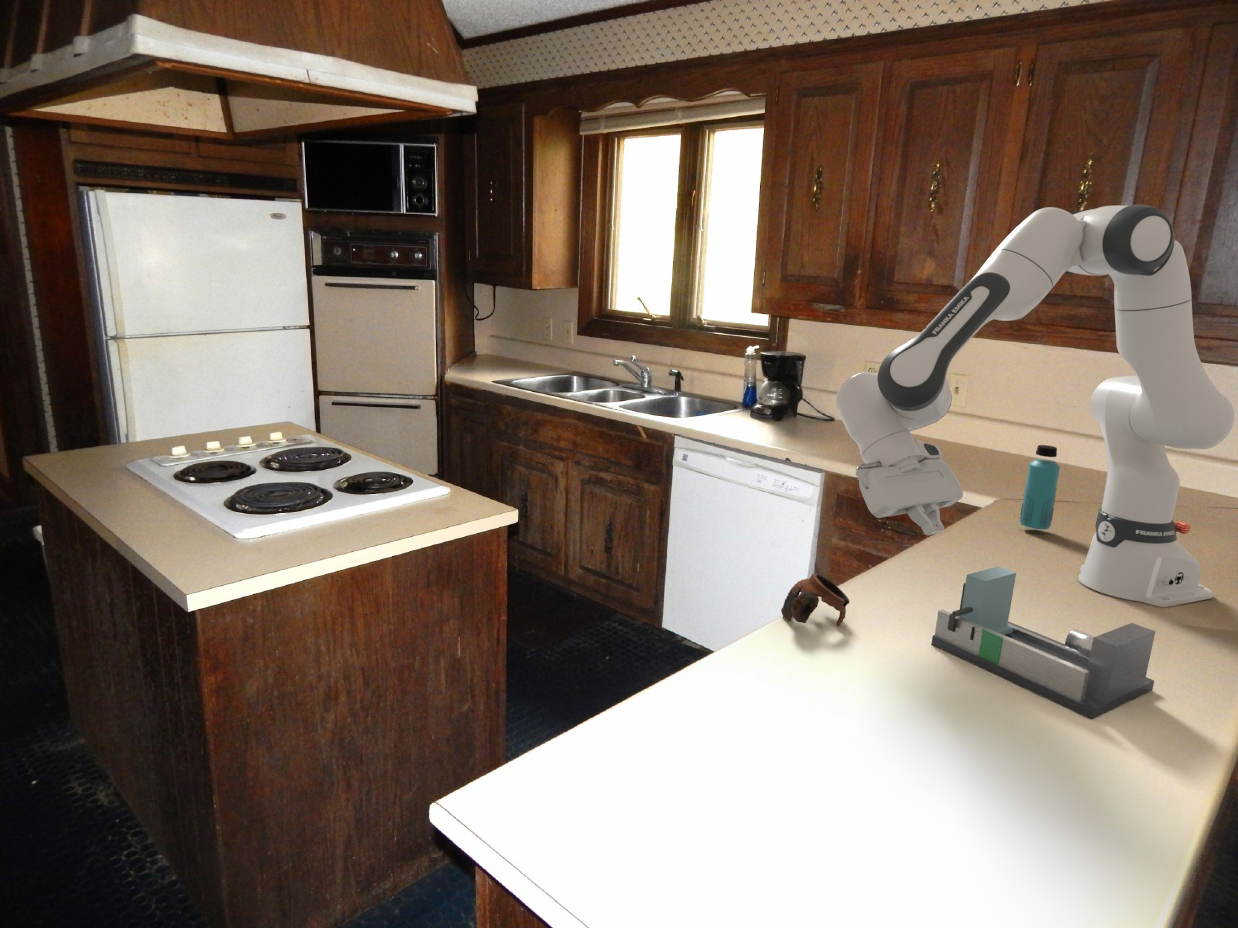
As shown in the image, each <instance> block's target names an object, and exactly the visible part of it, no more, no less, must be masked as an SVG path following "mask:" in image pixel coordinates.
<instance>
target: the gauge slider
mask: <svg viewBox="0 0 1238 928" xmlns="http://www.w3.org/2000/svg"><path fill="white" fill-rule="evenodd" d="M1016 577H1017V572H1016V571H1012V570H1010V569H1008V568H1007V569H1006V568H1003V567H1001V566H995V567H991V568H987V569H983V570H979V571H976V572H971V573H968V574H966V577H965V582H964V583H963V587H962V592H961V599H960V605H959V609H957V610H953V611H952V612H951V613H952V614H950V616H949V622H948V630H950V631H952V630H954V623H955V617H957V616H960V617H962V618H964V619H967V620H969V621H972V622H974V623H976V624H979V625H981V626H983V627H986V628H988V629H990V630H993V631H995V632H998V633H1000V634H1002V635H1006V634H1009V633H1012V632H1013V627H1011V626H1009V625H1008V621H1009V617H1010V611H1011V607H1012V602H1013V601H1012V600H1013V595H1014V594H1013V593H1014V590H1015V589H1014V588H1015V584H1016Z"/></svg>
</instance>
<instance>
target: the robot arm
mask: <svg viewBox="0 0 1238 928" xmlns="http://www.w3.org/2000/svg"><path fill="white" fill-rule="evenodd" d="M1174 231H1175V230H1174V227H1173V224H1172V221H1171V219H1170V218H1169V216H1168V215H1167V214H1166V213H1165V211H1164V210H1162V209H1161V208H1158V207H1156V206H1151V205H1149V204H1147V205H1146V204H1140V203H1139V204H1131V205H1123V204H1122V205H1120V204H1119V205H1104V206H1100V207H1097V208H1093V209H1088V210H1078V211H1073V212H1069V211H1067V210H1065V209H1062V208H1059V207H1054V206H1053V207H1052V206H1050V207H1049V206H1047V207H1043V208H1040V209H1037V210H1036V211H1034V212H1032V213H1031V214H1029V216H1027V217H1026V218H1025V219H1024V220H1022V221H1021V223H1019V225H1017V226H1016V227H1015V228H1014V229H1013V230H1012V231H1011V232H1010V233H1009V234H1008V235H1007V236H1006V237H1005V238H1004V239H1003V241H1001V243H1000V244H999V245H998V246H997V247H996V248H995V249H994V251H992V253H991V255H990V256H989V257H988V258H987V259H986V261H985V262H984V263H983V264H982V266H981V267H980V268H979V270H978V271H977V272H976V274H974V276H973V277H972V278H971V279H970V280H969V281H968V283H967V284H966V285H964V286H963V287H962V288H961V289H960V290H959V292H957V294H956V295H955V296H953V298H952V299H951V300H949V302H948V303H947V304H946V305H945V306H944V308H942V309H941V310H940V312H939V313H938V314H937V315H936V316H935V317H934V318H933V319H932V320H931V321H930V323H928V325H926V327H925V328H923V330H922V331H921V332H920V333H919V334H917V335H916V336H915V337H914V338H912V339H911V340H909V341H907V342H906V343H904V344H902V345H900V346H899V347H897V348H896V349H894V350H892V351H891V352H890V353H889V354H888V355H886V357H885V358H884V359H883V361H882V362H881V364H880V366H879V367H878V372H875V373H874V372H869V371H861V372H859V373H856V374H853V376H850V377H849V378H848V379H847V380H846V381H845V382H843V384H842V385H841V386H840V388H839V390H838V391H837V393H836V396H835V405H836V408H837V411H838V414H839V417H840V419H841V421H842V423H843V424H844V427H845V429H846V432H847V433H848V435H849V436H850V438H851V440H853V441H854V442H855V443H856V444H857V447H858V449H859V454H860V457H861V458H862V461H864V462H863V463H860V464H858V465H857V468H856V470H855V477H857V480H858V485H859V486H858V487H859V489H860V492H861V495H862V497H863V499H864V501H865V502H864V503H865V505H866V506H867V509H868V511H869V512H870V514H872V515H873V516H874V517H875V518H878V519H880V518H885V517H893V516H898V515H904V514H907V515H908V517H909V518H910V519H911V521H912V522H914V523H915V524H917V526H919V527H920V528H921V530H922V531H923V533H924V534H925V536H931V535H936V534H940V533H942V532H943V531H944V530H945V526H944V524H943V522H942V521H941V513H940V509H941V508H946V507H947V508H948V507H951V506H952V505H954V504H956V503H957V502H959V501H960V500H961V499H963V497H964V490H963V487H962V486H961V484H960V481H959V480H958V478H957V477H956V475H955V473H954V471H953V469H952V468H951V467H950V465H949V464H948V463H947V462H946V461H945V460H943V459H942V457H943V456H944V455H943V452H942V450H941V449H940V447H939V446H938V445H935V444H932V443H928V442H925V441H922V440H920V439H918V438H914V437H913V435H912V433H911V432H913V431H916V430H918V429H922V428H925V427H927V426H930V425H932V424H935V423H937V422H939V421H940V420H941V419H943V418H944V417H945V416H946V414H947V413H948V412H949V410H950V408H951V406H952V399H953V398H952V390H951V388H950V385H949V381H948V380H947V375H948V370H949V367H950V365H951V363H952V361H953V359H954V358H955V356H957V355H958V354H959V352H961V350H962V349H963V348H964V347H965V346H966V345H967V344H968V343H969V341H970V340H972V338H973V337H975V335H976V334H977V333H978V331H980V330H981V328H983V326H985V325H986V324H988V323H989V322H990V321H993V320H997V321H1001V322H1002V321H1005V322H1008V321H1011V322H1012V321H1016V320H1020V319H1023V318H1024V317H1025V316H1027V314H1029V313H1030V312H1031V311H1032V310H1034V308H1036V307H1037V306H1038V305H1039V304H1040V303H1041V302H1042V300H1044V299H1045V297H1046V296H1047V295H1048V294H1049V293H1050V292H1051V290H1052V289H1053V288H1054V287H1055V285H1056V284H1057V282H1059V280H1060V279H1061V278H1062V276H1063V275H1064V274H1068V275H1085V276H1095V277H1096V276H1097V277H1099V276H1107V275H1109V277H1110V278H1111V280H1112V282H1113V284H1114V294H1113V295H1114V296H1113V298H1114V299H1113V300H1114V301H1113V302H1114V303H1113V304H1114V318H1115V322H1114V323H1115V337H1116V338H1115V340H1116V341H1115V342H1116V349H1117V351H1118V354H1119V355H1120V356H1121V358H1122V359H1123V360H1124V361H1125V362H1126V363H1127V364H1128V365H1129V366H1130V367H1131V369H1132V371H1133V372H1134V375H1124V376H1114V377H1110V378H1107V379H1105V380H1104V381H1102V382H1101V383H1099V384H1098V385H1097V387H1096V388H1095V389H1094V391H1093V393H1092V395H1091V398H1090V403H1089V407H1090V413H1091V416H1092V418H1093V419H1094V421H1095V422H1096V423H1097V425H1098V427H1099V428H1100V430H1101V434H1102V436H1103V437H1102V438H1103V441H1104V445H1105V450H1106V451H1105V452H1106V458H1107V459H1106V460H1107V473H1106V479H1105V487H1104V494H1103V499H1102V505H1101V507H1100V508H1099V509H1098V511H1097V514H1096V517H1095V518H1096V520H1095V526H1094V527H1095V531H1096V532H1095V533H1094V534H1093V537H1092V539H1091V543H1090V545H1089V548H1088V550H1087V551H1088V552H1087V554H1086V558H1085V561H1084V563H1083V564H1081V565H1080V568H1079V569H1080V573H1079V574H1078V576H1077V580H1078V581H1079V582H1080V583H1081V584H1082V585H1084V586H1086V587H1087V588H1090V589H1091V590H1093V591H1097V592H1099V593H1102V594H1105V595H1108V596H1112V597H1116V598H1119V599H1124V600H1127V601H1129V600H1131V601H1134V602H1140V603H1145V604H1147V605H1152V606H1156V607H1161V608H1167V607H1171V606H1172V607H1173V606H1178V605H1183V604H1189V603H1194V602H1199V601H1204V600H1209V599H1213V596H1214V593H1213V592H1212V590H1210V589H1209V588H1208V587H1206V586H1204V585H1202V584H1201V583H1200V581H1201V579H1200V578H1201V565H1200V563H1199V561H1198V560H1197V559H1196V558H1195V557H1194V556H1193V555H1192V554H1191V553H1190V552H1189V551H1188V550H1187V549H1186V548H1185V547H1183V546H1182V544H1180V542H1179V541H1177V533H1180V534H1182V535H1187V534H1189V532H1191V529H1192V528H1191V525H1190V524H1189V523H1187V522H1183V521H1180V520H1178V521H1176V522H1175V521H1174V520H1173V516H1174V512H1175V509H1176V508H1175V507H1176V504H1177V499H1178V495H1179V489H1180V485H1181V482H1180V477H1179V474H1178V473H1177V471H1176V470H1175V469H1174V467H1173V466H1172V465H1171V463H1170V461H1169V459H1168V455H1167V453H1166V446H1167V447H1171V448H1175V449H1179V450H1180V449H1181V450H1208V449H1211V448H1214V447H1216V446H1218V445H1219V444H1221V443H1222V442H1223V441H1224V440H1225V439H1226V438H1227V437H1228V435H1229V434H1230V432H1231V430H1232V428H1233V425H1234V421H1235V410H1234V407H1233V404H1232V402H1231V401H1230V400H1229V399H1228V398H1227V397H1226V396H1225V395H1224V394H1223V393H1221V392H1220V391H1219V390H1218V389H1217V386H1215V385H1214V384H1213V381H1211V379H1210V377H1209V376H1208V374H1207V372H1206V369H1205V368H1204V366H1203V363H1202V361H1201V358H1200V357H1199V353H1198V351H1197V345H1196V343H1195V335H1194V322H1193V303H1192V301H1193V300H1192V286H1191V277H1190V272H1189V267H1188V262H1187V257H1186V254H1185V252H1184V247H1183V246H1182V245H1181V243H1180V242H1179V241H1177V240H1176V239H1175V232H1174Z"/></svg>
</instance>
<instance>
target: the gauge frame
mask: <svg viewBox="0 0 1238 928" xmlns="http://www.w3.org/2000/svg"><path fill="white" fill-rule="evenodd" d="M950 614H952V612H950V611H947V610H945V609H938V611H937V617H936V625H935V631H934V634H933V635H932V637H931V646H933V647H935V648H938V649H940V650H942V651H944V652H946V653H948V654H951V655H953V656H955V657H957V658H959V659H961V660H963V661H966V662H967V663H969V664H972V665H973V666H975V667H978V668H980V669H982V670H985V671H987V672H989V673H990V674H993V675H994V676H997V677H999V678H1001V679H1003V680H1006V681H1008V682H1010V683H1012V684H1013V685H1016V686H1019V687H1021V688H1023V689H1024V690H1027V691H1029V692H1031V693H1033V694H1035V695H1037V696H1039V697H1042V698H1045V699H1046V700H1049V701H1050V702H1053V703H1055V704H1057V705H1059V706H1061V707H1063V708H1066V709H1068V710H1070V711H1072V712H1074V713H1076V714H1079V716H1080V715H1081V716H1082V717H1085V718H1086V719H1089V720H1091V721H1092V720H1094V719H1096V718H1098V717H1100V716H1102V715H1105V714H1106V713H1109V712H1110V711H1113V710H1115V709H1117V708H1120V707H1121V706H1123V705H1126V704H1127V703H1129V702H1131V701H1134V700H1135V699H1137V698H1140V697H1142V696H1144V695H1145V694H1148V693H1150V692H1152V691H1153V689H1154V684H1155V680H1154V679H1152V678H1150V677H1147V673H1148V669H1149V662H1150V659H1151V654H1152V651H1153V645H1154V641H1155V635H1156V631H1155V630H1154V629H1150V628H1147V627H1145V626H1141V625H1139V624H1136V623H1135V622H1134V623H1133V622H1131V623H1128V624H1126V625H1123V626H1120V627H1118V628H1115V629H1112V630H1110V631H1107V632H1104V633H1101V634H1098V635H1097V636H1094V635H1091V634H1089V633H1086V632H1083V631H1080V630H1078V629H1076V628H1075V629H1074V628H1073V629H1071V630H1070V631H1069V632H1068V634H1067V636H1066V638H1065V643H1064V642H1063V643H1062V642H1060V641H1058V640H1055V639H1053V638H1051V637H1048V636H1046V635H1043V634H1041V633H1038V632H1036V631H1033V630H1030V629H1028V628H1025V627H1023V626H1021V625H1019V624H1016V623H1013V622H1011V621H1009V620H1008V625H1009V626H1011V627H1013V632H1012V633H1009V634H1006V635H1002V634H1000V633H998V632H995V631H993V630H990V629H988V628H986V627H983V626H981V625H979V624H976V623H974V622H972V621H969V620H967V619H964V618H962V617H960V616H957V617H955V623H954V630H952V631H950V630H948V622H949V616H950Z"/></svg>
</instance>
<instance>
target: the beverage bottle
mask: <svg viewBox="0 0 1238 928" xmlns="http://www.w3.org/2000/svg"><path fill="white" fill-rule="evenodd" d="M1057 451H1058V447H1056V446H1053V445H1047V444H1039V445H1037V447H1036V451H1035V455H1037V456H1041V457H1047V458H1057V454H1058V453H1057ZM1060 469H1061V467H1060V465H1059V464H1058V463H1057V462H1056V461H1054V460H1050V459H1045V458H1043V459H1042V458H1035V459H1033V460H1032V461H1030V462H1029V463H1028V470H1027V476H1026V484H1025V485H1024V493H1023V495H1022V496H1023V497H1022V504H1021V507H1020V509H1021V510H1020V517H1019V520H1020V521H1019V522H1020V525H1021V526H1023V527H1027V528H1030V529H1035V530H1048V529H1050V527H1051V526H1052V520H1053V516H1054V510H1055V508H1054V507H1055V503H1056V502H1055V501H1056V498H1057V497H1056V496H1057V486H1058V480H1059V475H1060Z"/></svg>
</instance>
